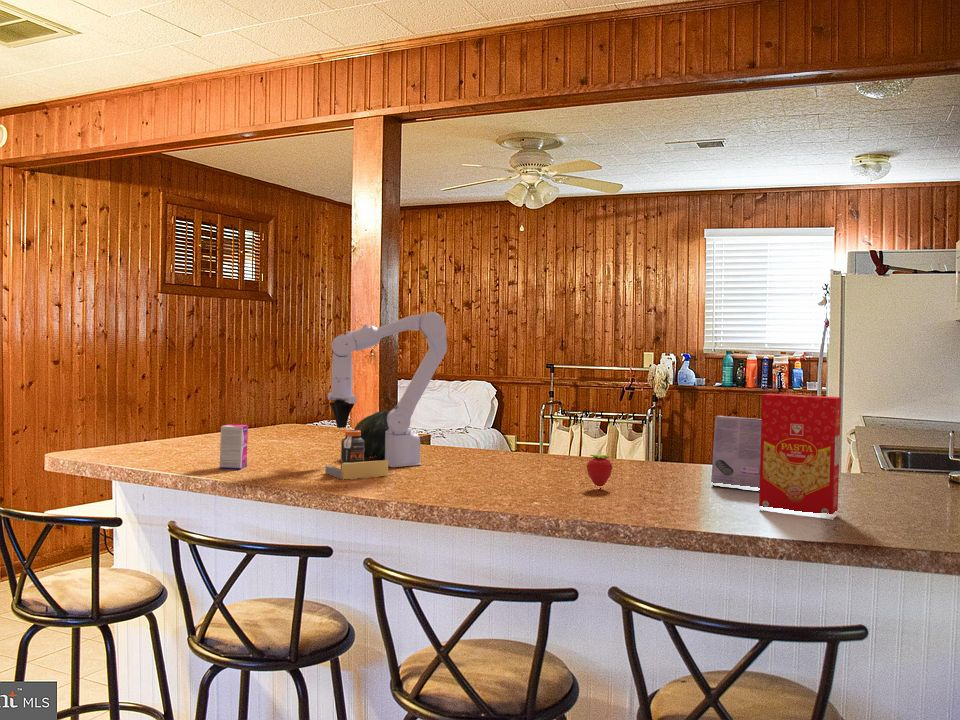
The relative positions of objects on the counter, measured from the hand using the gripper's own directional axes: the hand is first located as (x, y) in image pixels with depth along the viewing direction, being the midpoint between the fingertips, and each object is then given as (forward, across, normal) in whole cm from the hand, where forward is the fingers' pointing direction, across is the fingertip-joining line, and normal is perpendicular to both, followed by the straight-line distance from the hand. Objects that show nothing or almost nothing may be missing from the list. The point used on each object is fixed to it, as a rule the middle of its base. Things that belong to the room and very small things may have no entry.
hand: (341, 427), depth 224 cm
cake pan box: (+11, +81, +72) cm, 109 cm away
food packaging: (+11, +103, +58) cm, 119 cm away
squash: (+11, -7, +15) cm, 20 cm away
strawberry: (+11, +62, +39) cm, 74 cm away
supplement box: (+11, -9, -27) cm, 30 cm away
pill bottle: (+11, +14, -3) cm, 18 cm away
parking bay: (+10, +16, -3) cm, 19 cm away
